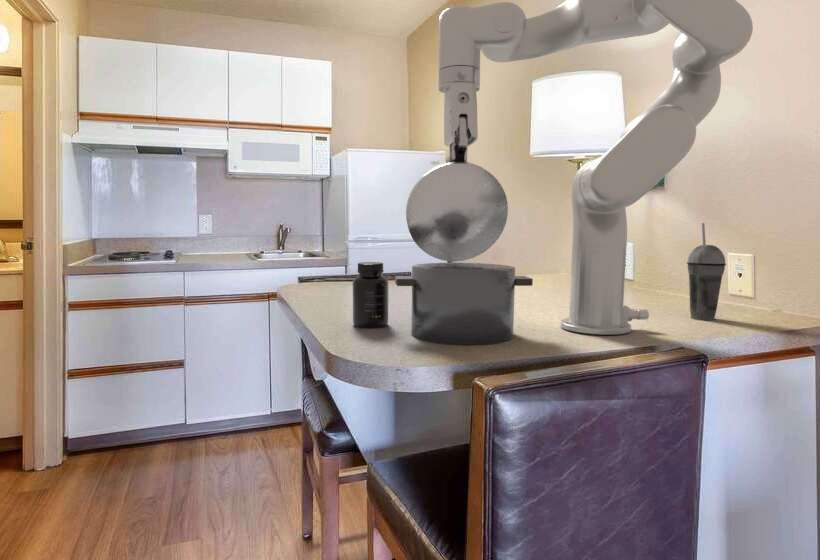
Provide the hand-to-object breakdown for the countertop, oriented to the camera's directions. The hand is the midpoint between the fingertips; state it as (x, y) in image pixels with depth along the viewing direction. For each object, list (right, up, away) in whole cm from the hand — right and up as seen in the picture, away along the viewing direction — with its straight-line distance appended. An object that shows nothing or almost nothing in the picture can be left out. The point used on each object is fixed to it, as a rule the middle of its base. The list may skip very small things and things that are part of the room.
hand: (457, 183), depth 103 cm
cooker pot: (0, -28, -4) cm, 28 cm away
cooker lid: (0, -6, 0) cm, 6 cm away
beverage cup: (+53, -26, +14) cm, 61 cm away
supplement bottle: (-16, -27, +3) cm, 32 cm away
